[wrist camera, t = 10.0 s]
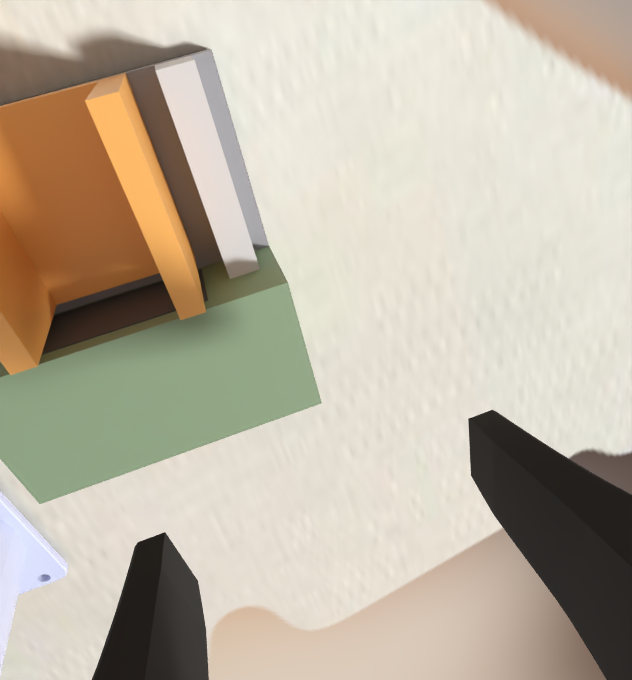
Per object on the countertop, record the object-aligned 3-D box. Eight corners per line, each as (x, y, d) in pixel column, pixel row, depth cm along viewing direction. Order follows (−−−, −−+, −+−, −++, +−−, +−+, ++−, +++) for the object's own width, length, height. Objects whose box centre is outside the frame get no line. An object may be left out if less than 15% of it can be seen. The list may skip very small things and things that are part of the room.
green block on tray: (55, 433, 20) (40, 504, 17) (-157, 148, 13) (-239, 186, 10) (297, 349, 21) (321, 403, 18) (209, 48, 14) (224, 57, 12)
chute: (37, 302, 16) (10, 375, 13) (-73, 125, 13) (-146, 162, 10) (194, 254, 17) (205, 312, 14) (125, 72, 14) (118, 91, 10)
